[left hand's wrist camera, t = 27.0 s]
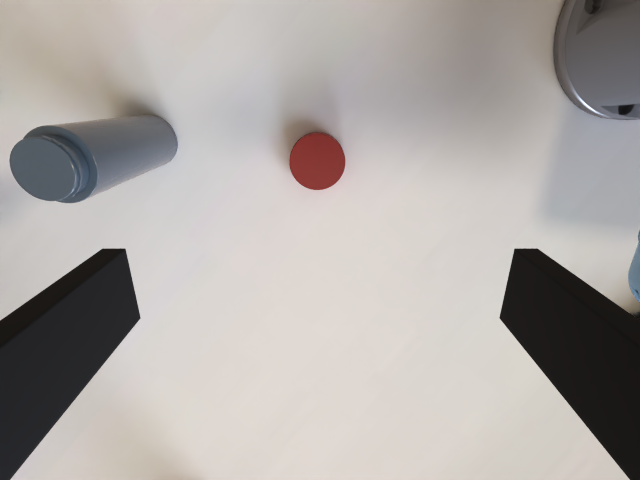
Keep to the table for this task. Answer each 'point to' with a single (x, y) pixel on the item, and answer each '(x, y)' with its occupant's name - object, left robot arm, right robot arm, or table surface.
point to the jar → (90, 156)
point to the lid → (317, 161)
